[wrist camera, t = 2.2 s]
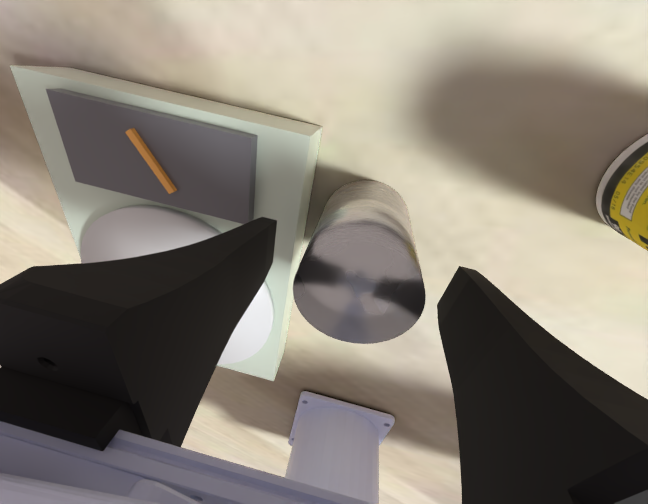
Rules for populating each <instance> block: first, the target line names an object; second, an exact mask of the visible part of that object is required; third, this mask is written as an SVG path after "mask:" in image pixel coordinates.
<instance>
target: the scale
mask: <svg viewBox="0 0 648 504" xmlns="http://www.w3.org/2000/svg"><path fill="white" fill-rule="evenodd" d="M10 68H11V71H12V73H13V76H14V79H15V81H16V84H17V87H18V90H19V92H20V95H21V98H22V100H23V103H24V106H25V108H26V111H27V114H28V117H29V119H30V122H31V125H32V127H33V130H34V133H35V136H36V138H37V141H38V144H39V146H40V149H41V152H42V154H43V157H44V160H45V163H46V165H47V168H48V171H49V173H50V176H51V179H52V182H53V184H54V187H55V190H56V192H57V195H58V198H59V200H60V203H61V206H62V209H63V211H64V214H65V217H66V219H67V222H68V225H69V228H70V230H71V233H72V236H73V238H74V241H75V244H76V246H77V249H78V252H79V255H80V257H81V262H82V263H93V262H102V261H111V260H119V259H125V258H132V257H138V256H143V255H148V254H153V253H158V252H163V251H168V250H172V249H176V248H180V247H183V246H187V245H191V244H194V243H197V242H200V241H203V240H206V239H208V238H211V237H214V236H216V235H219V234H222V233H224V232H227V231H229V230H232V229H234V228H236V227H239V226H241V225H243V224H246V223H248V222H250V221H252V220H255V219H257V218H260V217H266V218H270V219H273V220H277V227H276V237H275V247H274V257H273V263H272V266H271V268H270V270H269V272H268V275H267V277H266V279H265V281H264V283H263V285H262V286H261V288H260V289H259V291H258V293H257V294H256V296H255V297H254V299H253V301H252V302H251V304H250V305H249V307H248V308H247V310H246V312H245V313H244V315H243V316H242V318H241V319H240V321H239V323H238V324H237V326H236V328H235V329H234V331H233V333H232V335H231V337H230V339H229V341H228V343H227V345H226V347H225V349H224V351H223V353H222V355H221V357H220V359H219V361H218V363H217V366H220V367H224V368H227V369H231V370H235V371H238V372H242V373H245V374H249V375H253V376H256V377H260V378H263V379H267V380H271V381H274V379H275V376H276V373H277V371H278V368H279V365H280V362H281V359H282V356H283V354H284V350H285V344H286V338H287V333H288V327H289V321H290V315H291V309H292V303H293V297H294V296H293V281H294V277H295V274H296V272H297V270H298V268H299V262H300V256H301V250H302V244H303V238H304V232H305V227H306V221H307V215H308V209H309V203H310V197H311V191H312V185H313V179H314V174H315V168H316V162H317V156H318V150H319V144H320V138H321V132H322V126H317V125H313V124H309V123H305V122H300V121H296V120H292V119H288V118H283V117H279V116H275V115H270V114H266V113H262V112H258V111H253V110H249V109H245V108H241V107H236V106H232V105H228V104H224V103H219V102H215V101H211V100H207V99H202V98H198V97H194V96H190V95H185V94H181V93H177V92H172V91H168V90H164V89H160V88H155V87H151V86H147V85H143V84H138V83H134V82H130V81H126V80H121V79H117V78H113V77H109V76H104V75H100V74H96V73H92V72H87V71H83V70H79V69H74V68H69V67H45V66H20V65H10Z"/></svg>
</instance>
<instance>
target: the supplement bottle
mask: <svg viewBox="0 0 648 504" xmlns="http://www.w3.org/2000/svg"><path fill="white" fill-rule="evenodd" d="M596 206H597V210H598V213H599V215H600V217H601V218H602V219H603V221H604V222H605V223H606V224H607V225H609V226H610V227H611V228H613V229H614V230H615V231H617V232H618V233H620V234H621V235H623V236H625V237H626V238H628V239H630V240H632V241H633V242H635V243H636V244H638V245H639V246H641V247H642V248H644V249H646V250H647V251H648V134H647V135H645V136H644V137H642V138H640V139H639V140H637V141H636V142H635V143H633V144H632V145H631V146H629V147H628V148H627V149H626V150H624V151H623V152H622V153H621V154H620V155H619V156H618V157H617V158H616V159H615V160H614V161H613V163H612V164H611V165H610V167H609V168H608V169H607V171H606V172H605V174H604V176H603V177H602V180H601V182H600V184H599V187H598V190H597V194H596Z"/></svg>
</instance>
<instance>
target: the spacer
mask: <svg viewBox="0 0 648 504" xmlns="http://www.w3.org/2000/svg"><path fill="white" fill-rule="evenodd" d="M293 296H294V300H295V303H296V305H297V307H298V309H299V311H300V313H301V314H302V315H303V317H304V318H305V319H306V320H307V321H308V322H309V323H310V324H311V325H312V326H313V327H315V328H316V329H318V330H319V331H321V332H322V333H324V334H326V335H328V336H330V337H333V338H335V339H338V340H341V341H346V342H351V343H361V344H368V343H378V342H383V341H387V340H390V339H393V338H395V337H397V336H399V335H401V334H403V333H404V332H406V331H407V330H409V329H410V328H411V327H412V326H413V325H414V324H415V323H416V322H417V320H418V319H419V317H420V316H421V314H422V311H423V309H424V305H425V288H424V283H423V278H422V274H421V269H420V264H419V260H418V255H417V250H416V246H415V241H414V236H413V232H412V227H411V222H410V218H409V213H408V209H407V206H406V204H405V202H404V200H403V199H402V197H401V196H400V195H399V194H398V193H397V192H396V191H395V190H394V189H393V188H391V187H390V186H388V185H386V184H384V183H381V182H378V181H372V180H359V181H354V182H351V183H348V184H346V185H344V186H342V187H341V188H339V189H338V190H337V191H335V192H334V193H333V194H332V196H331V197H330V198H329V200H328V201H327V203H326V206H325V208H324V210H323V213H322V215H321V217H320V219H319V222H318V224H317V226H316V229H315V231H314V233H313V235H312V238H311V240H310V242H309V245H308V247H307V249H306V251H305V254H304V256H303V258H302V261H301V263H300V265H299V268H298V270H297V272H296V274H295V277H294V281H293Z"/></svg>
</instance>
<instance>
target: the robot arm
mask: <svg viewBox="0 0 648 504" xmlns="http://www.w3.org/2000/svg"><path fill="white" fill-rule="evenodd" d="M276 227H277V220H273V219H270V218H266V217H260V218H257V219H255V220H252V221H250V222H248V223H246V224H243V225H241V226H239V227H236V228H234V229H232V230H229V231H227V232H224V233H222V234H219V235H216V236H214V237H211V238H208V239H206V240H203V241H200V242H197V243H194V244H191V245H187V246H183V247H180V248H176V249H172V250H168V251H163V252H158V253H153V254H148V255H143V256H138V257H132V258H125V259H119V260H111V261H102V262H93V263H82V264H67V265H53V266H34V267H31V268H29V269H27V270H25V271H23V272H21V273H20V274H18V275H16V276H14V277H12V278H11V279H9V280H7V281H5V282H3V283H2V284H0V365H1V366H2V367H1V368H0V504H379V445H380V444H381V442H382V441H383V439H384V438H385V436H386V435H387V434H388V432H389V431H390V429H391V428H392V426H393V425H394V423H395V418H394V416H392V415H390V414H387V413H383V412H379V411H376V410H372V409H369V408H365V407H361V406H358V405H354V404H351V403H347V402H343V401H340V400H336V399H333V398H329V397H325V396H322V395H318V394H315V393H311V392H307V391H303V392H301V394H300V398H299V402H298V406H297V410H296V414H295V418H294V422H293V426H292V429H291V433H290V437H289V441H288V443H289V444H290V445H291V446H292V450H291V454H290V458H289V462H288V466H287V470H286V475H285V478H284V477H281V476H277V475H274V474H270V473H267V472H263V471H260V470H257V469H253V468H250V467H246V466H243V465H239V464H236V463H233V462H229V461H226V460H222V459H219V458H215V457H212V456H209V455H205V454H202V453H198V452H195V451H191V450H188V449H185V448H181V445H182V443H183V440H184V438H185V435H186V433H187V431H188V428H189V426H190V424H191V421H192V419H193V417H194V414H195V412H196V410H197V407H198V405H199V403H200V401H201V398H202V396H203V394H204V392H205V389H206V387H207V385H208V383H209V381H210V378H211V376H212V374H213V372H214V370H215V368H216V366H217V363H218V361H219V359H220V357H221V355H222V353H223V351H224V349H225V347H226V345H227V343H228V341H229V339H230V337H231V335H232V333H233V331H234V329H235V328H236V326H237V324H238V323H239V321H240V319H241V318H242V316H243V315H244V313H245V312H246V310H247V308H248V307H249V305H250V304H251V302H252V301H253V299H254V297H255V296H256V294H257V293H258V291H259V289H260V288H261V286H262V285H263V283H264V281H265V279H266V277H267V275H268V272H269V270H270V268H271V266H272V263H273V257H274V247H275V237H276ZM437 309H438V324H439V331H440V335H441V340H442V344H443V349H444V353H445V357H446V361H447V366H448V370H449V374H450V378H451V383H452V388H453V393H454V401H455V409H456V418H457V427H458V438H459V450H460V466H461V483H462V504H648V400H647V399H646V398H644V397H642V396H641V395H639V394H637V393H636V392H634V391H632V390H631V389H629V388H628V387H626V386H624V385H623V384H621V383H620V382H618V381H617V380H615V379H614V378H612V377H610V376H609V375H607V374H606V373H604V372H603V371H601V370H600V369H598V368H597V367H595V366H594V365H592V364H591V363H589V362H588V361H586V360H585V359H583V358H582V357H581V356H579V355H578V354H577V353H575V352H574V351H572V350H571V349H570V348H568V347H567V346H566V345H564V344H563V343H561V342H560V341H559V340H558V339H556V338H555V337H554V336H552V335H551V334H550V333H549V332H547V331H546V330H545V329H544V328H542V327H541V326H540V325H539V324H538V323H536V322H535V321H534V320H533V319H532V318H530V317H529V316H528V315H527V314H526V313H525V312H523V311H522V310H521V309H520V308H519V307H518V306H517V305H515V304H514V303H513V302H512V301H511V300H510V299H509V298H508V297H507V296H505V295H504V294H503V293H502V292H501V291H500V290H499V289H498V288H497V287H495V286H494V285H493V284H492V283H491V282H490V281H489V280H487V279H486V278H485V277H484V276H483V275H481V274H480V273H479V272H477V271H476V270H473V269H469V268H465V267H461V266H459V268H458V270H457V271H456V273H455V275H454V276H453V278H452V280H451V282H450V283H449V285H448V287H447V289H446V290H445V292H444V294H443V296H442V297H441V299H440V301H439V302H438V304H437Z"/></svg>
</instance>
